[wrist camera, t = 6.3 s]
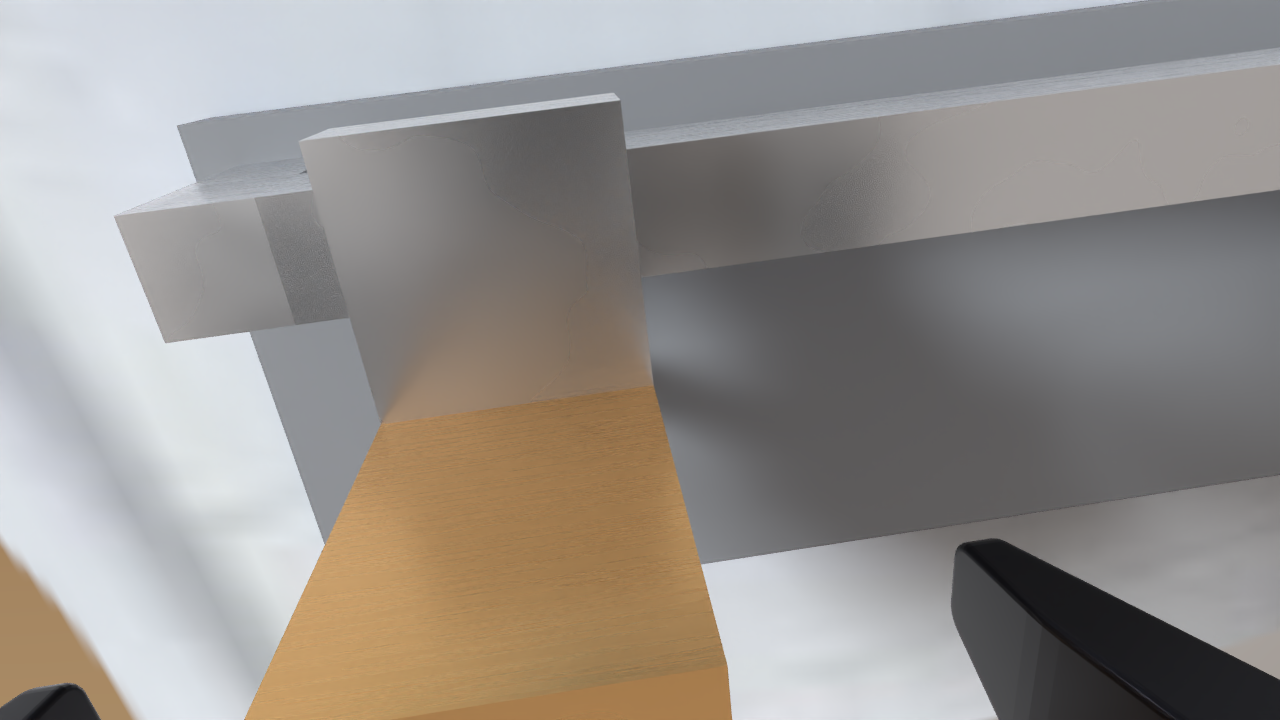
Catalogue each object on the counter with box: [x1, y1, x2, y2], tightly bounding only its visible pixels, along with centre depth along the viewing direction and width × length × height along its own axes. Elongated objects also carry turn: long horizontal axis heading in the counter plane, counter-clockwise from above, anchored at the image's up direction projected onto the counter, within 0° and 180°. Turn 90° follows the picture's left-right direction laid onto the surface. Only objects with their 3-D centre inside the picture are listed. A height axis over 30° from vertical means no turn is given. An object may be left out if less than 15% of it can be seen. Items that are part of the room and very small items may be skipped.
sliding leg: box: [244, 93, 732, 720], centre depth 9 cm, size 3×7×9 cm, turn 7°
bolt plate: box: [177, 0, 1280, 564], centre depth 15 cm, size 26×10×1 cm, turn 96°
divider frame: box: [114, 48, 1280, 343], centre depth 11 cm, size 22×6×4 cm, turn 96°
